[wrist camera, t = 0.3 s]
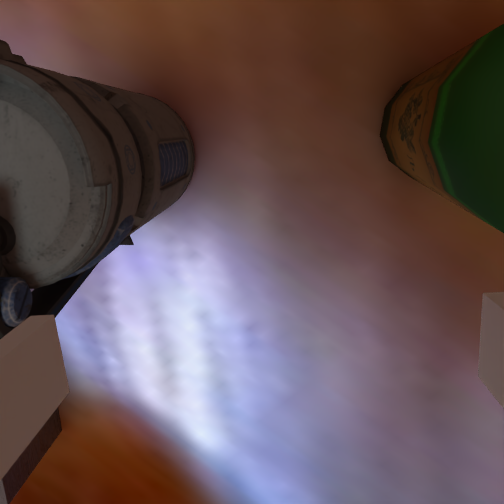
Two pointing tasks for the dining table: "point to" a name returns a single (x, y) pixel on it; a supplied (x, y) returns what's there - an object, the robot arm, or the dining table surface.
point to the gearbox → (29, 458)
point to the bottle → (455, 128)
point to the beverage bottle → (76, 180)
